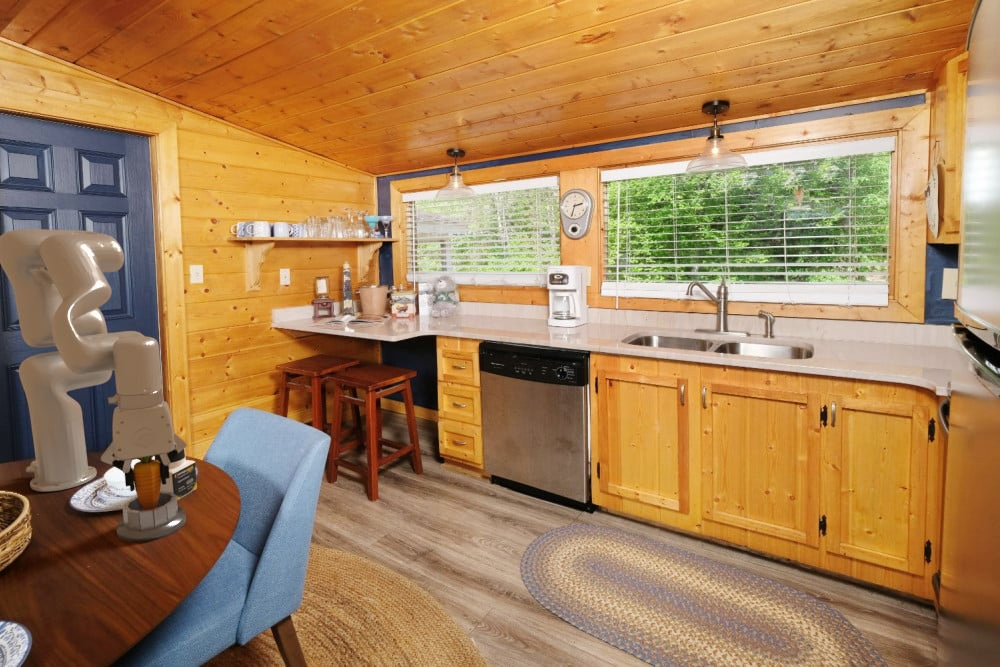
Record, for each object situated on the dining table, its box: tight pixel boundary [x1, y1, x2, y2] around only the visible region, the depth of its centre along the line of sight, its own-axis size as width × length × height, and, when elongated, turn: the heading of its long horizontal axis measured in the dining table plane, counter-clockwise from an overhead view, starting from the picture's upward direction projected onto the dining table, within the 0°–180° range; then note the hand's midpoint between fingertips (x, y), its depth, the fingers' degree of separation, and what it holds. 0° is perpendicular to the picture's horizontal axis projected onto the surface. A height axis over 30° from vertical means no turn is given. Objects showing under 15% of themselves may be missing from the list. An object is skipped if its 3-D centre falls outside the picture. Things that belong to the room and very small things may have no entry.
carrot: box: [132, 456, 161, 510], centre depth 111 cm, size 5×5×15 cm
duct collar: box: [116, 491, 187, 543], centre depth 112 cm, size 12×12×6 cm
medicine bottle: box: [154, 443, 198, 501], centre depth 126 cm, size 7×7×12 cm
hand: (148, 484), depth 111 cm, fingers closed on carrot, 4 cm apart
